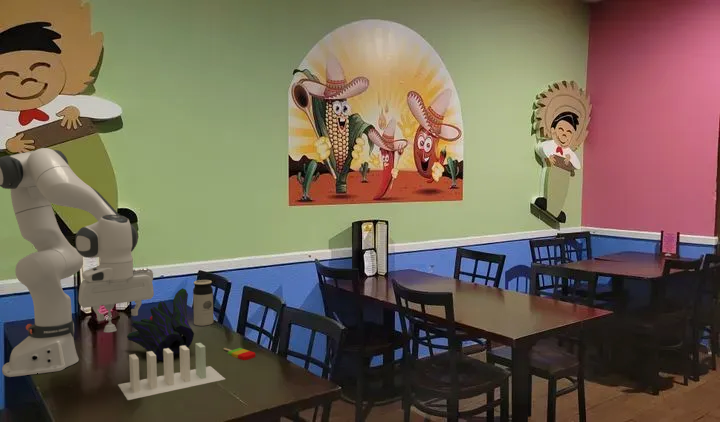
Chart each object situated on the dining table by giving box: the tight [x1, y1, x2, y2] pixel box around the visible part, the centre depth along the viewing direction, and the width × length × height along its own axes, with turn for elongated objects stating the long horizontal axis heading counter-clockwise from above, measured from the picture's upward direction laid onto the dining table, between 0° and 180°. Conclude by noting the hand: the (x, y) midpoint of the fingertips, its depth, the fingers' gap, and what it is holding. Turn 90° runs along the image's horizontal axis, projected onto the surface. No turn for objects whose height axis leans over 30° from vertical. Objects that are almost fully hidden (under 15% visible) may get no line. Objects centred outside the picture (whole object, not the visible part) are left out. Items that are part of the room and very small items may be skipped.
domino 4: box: [179, 345, 191, 382], centre depth 181 cm, size 2×5×10 cm, turn 34°
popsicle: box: [223, 347, 256, 361], centre depth 206 cm, size 6×15×2 cm, turn 50°
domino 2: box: [146, 351, 158, 389], centre depth 175 cm, size 2×5×10 cm, turn 34°
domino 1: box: [128, 353, 140, 393], centre depth 172 cm, size 2×5×10 cm, turn 33°
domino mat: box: [117, 365, 226, 401], centre depth 179 cm, size 29×14×1 cm, turn 124°
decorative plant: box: [126, 288, 195, 362], centre depth 210 cm, size 21×26×30 cm
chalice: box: [103, 304, 117, 333], centre depth 234 cm, size 7×7×18 cm
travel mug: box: [192, 279, 214, 327], centre depth 245 cm, size 8×8×18 cm
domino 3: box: [163, 348, 175, 385], centre depth 178 cm, size 2×5×10 cm, turn 33°
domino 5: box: [194, 342, 207, 379], centre depth 183 cm, size 2×5×10 cm, turn 33°
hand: (117, 317), depth 169 cm, fingers open, 8 cm apart
